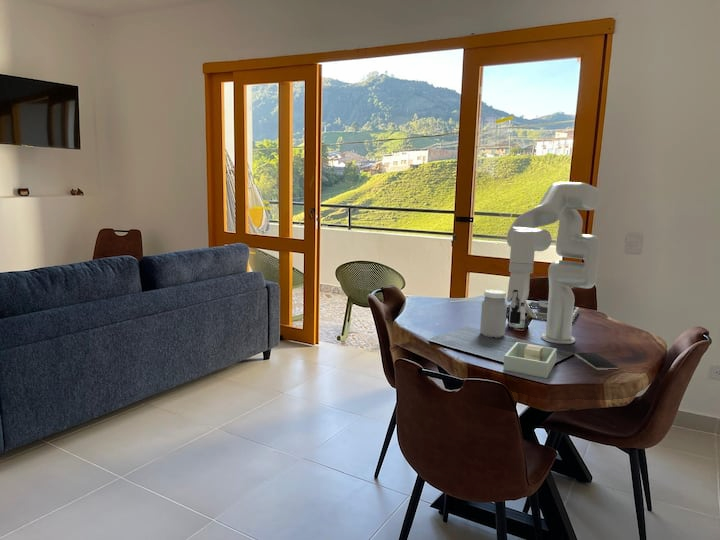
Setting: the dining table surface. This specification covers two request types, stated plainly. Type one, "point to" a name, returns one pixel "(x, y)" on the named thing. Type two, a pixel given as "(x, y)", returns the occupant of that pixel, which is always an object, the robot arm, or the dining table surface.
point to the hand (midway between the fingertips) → (517, 320)
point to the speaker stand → (544, 316)
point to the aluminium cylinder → (522, 317)
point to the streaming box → (542, 307)
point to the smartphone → (596, 361)
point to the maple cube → (533, 352)
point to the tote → (529, 361)
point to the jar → (493, 313)
